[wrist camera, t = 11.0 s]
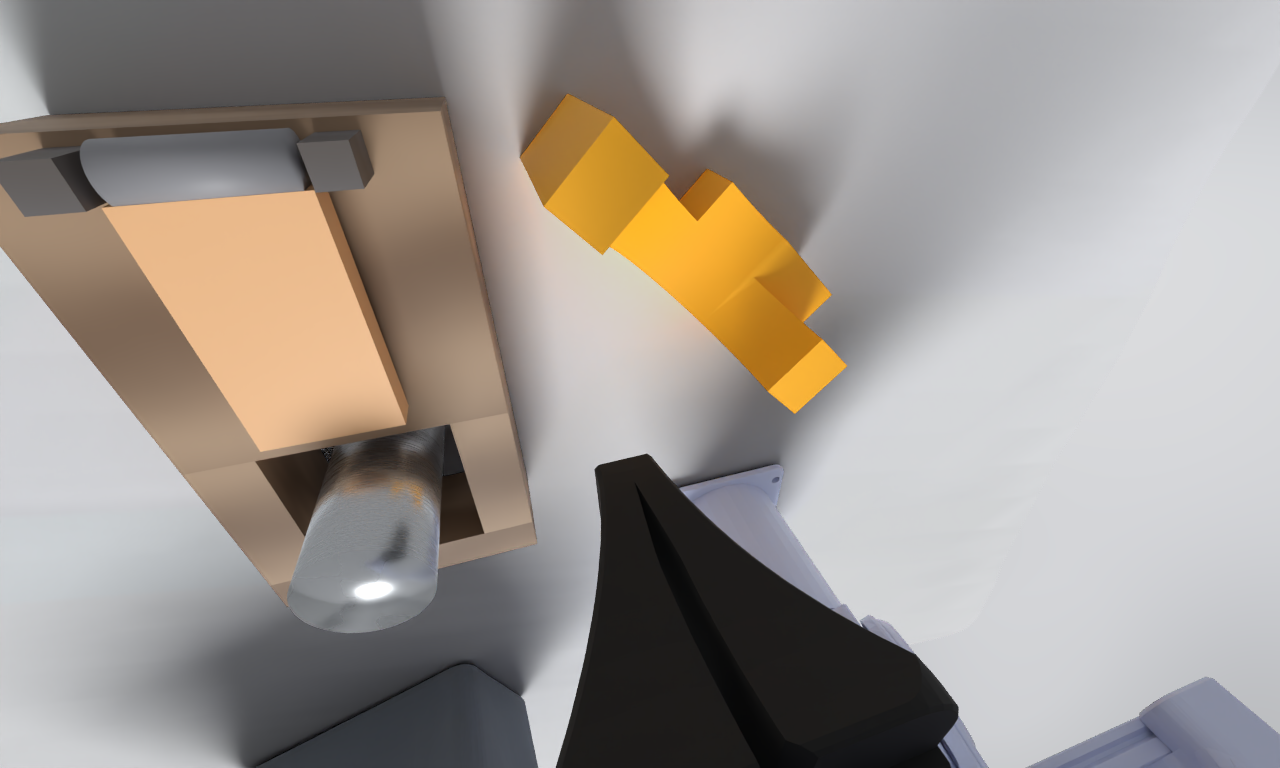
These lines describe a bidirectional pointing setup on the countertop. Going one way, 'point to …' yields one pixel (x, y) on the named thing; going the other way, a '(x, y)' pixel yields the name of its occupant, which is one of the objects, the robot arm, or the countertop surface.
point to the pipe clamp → (688, 246)
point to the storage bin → (428, 729)
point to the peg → (373, 535)
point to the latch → (253, 278)
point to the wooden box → (390, 272)
